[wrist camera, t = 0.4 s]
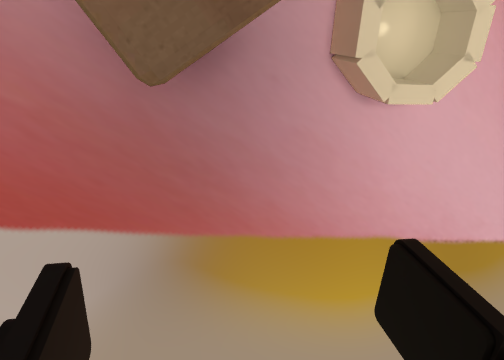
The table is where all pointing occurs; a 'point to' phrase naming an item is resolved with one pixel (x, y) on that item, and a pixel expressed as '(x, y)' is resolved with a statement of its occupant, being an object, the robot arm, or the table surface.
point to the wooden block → (168, 30)
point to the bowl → (409, 46)
